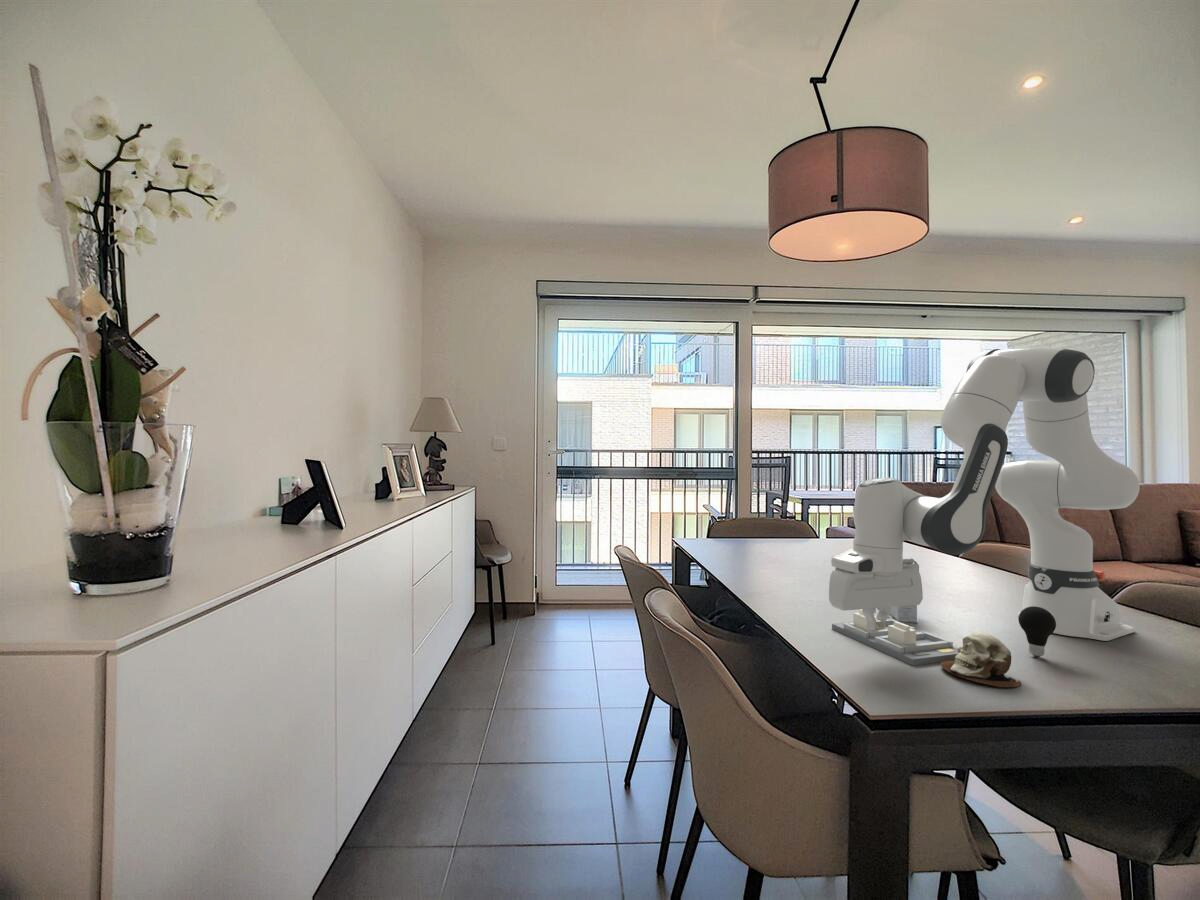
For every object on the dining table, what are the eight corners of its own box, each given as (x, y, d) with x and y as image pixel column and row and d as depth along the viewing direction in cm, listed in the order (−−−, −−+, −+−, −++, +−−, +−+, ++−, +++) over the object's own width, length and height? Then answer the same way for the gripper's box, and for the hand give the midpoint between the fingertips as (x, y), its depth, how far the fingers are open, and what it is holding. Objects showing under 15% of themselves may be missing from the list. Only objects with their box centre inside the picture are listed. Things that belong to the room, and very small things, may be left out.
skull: (980, 687, 92) (949, 628, 99) (947, 707, 100) (920, 651, 107) (1044, 682, 94) (1009, 625, 101) (1007, 702, 101) (976, 648, 108)
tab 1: (864, 627, 122) (864, 608, 122) (878, 633, 118) (878, 613, 118) (853, 628, 121) (853, 609, 121) (867, 634, 117) (867, 614, 117)
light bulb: (1046, 664, 105) (1047, 612, 105) (1011, 654, 110) (1012, 604, 110) (1061, 659, 108) (1062, 609, 108) (1027, 650, 113) (1027, 601, 113)
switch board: (831, 629, 125) (832, 619, 125) (881, 624, 129) (881, 614, 129) (912, 665, 104) (912, 654, 104) (968, 658, 108) (969, 647, 108)
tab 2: (899, 641, 114) (899, 620, 114) (915, 647, 110) (915, 626, 110) (887, 642, 113) (888, 621, 113) (903, 649, 109) (904, 627, 109)
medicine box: (917, 623, 130) (917, 586, 130) (897, 621, 131) (897, 585, 131) (905, 613, 138) (906, 579, 138) (886, 612, 139) (887, 578, 139)
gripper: (905, 554, 115) (904, 620, 115) (824, 558, 109) (822, 627, 109) (931, 560, 109) (930, 630, 109) (847, 564, 103) (845, 638, 103)
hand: (876, 629), depth 109 cm, fingers closed
